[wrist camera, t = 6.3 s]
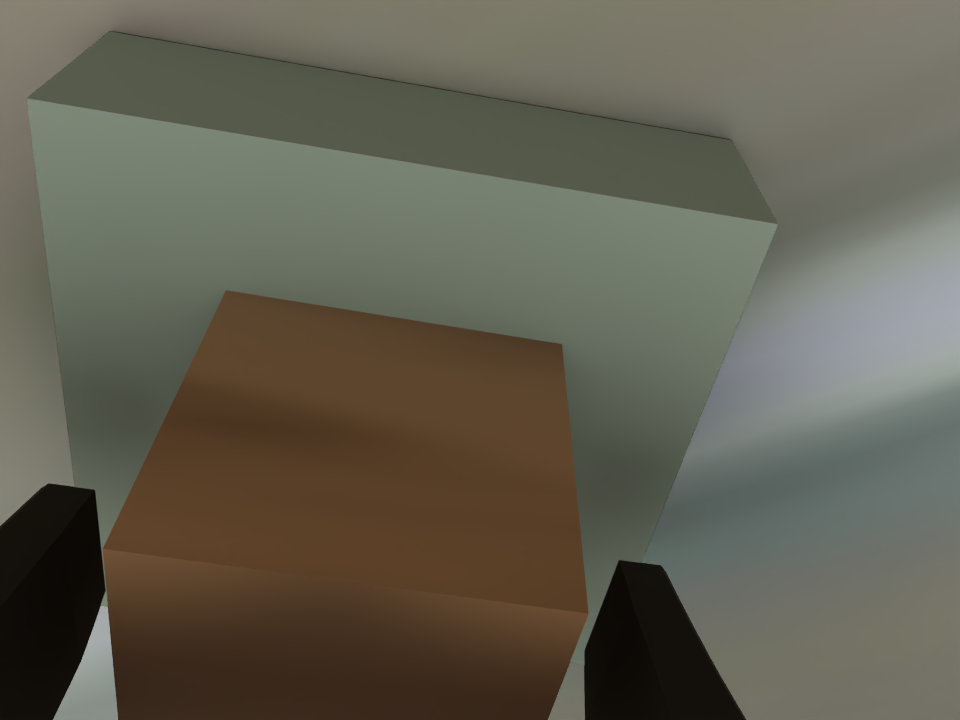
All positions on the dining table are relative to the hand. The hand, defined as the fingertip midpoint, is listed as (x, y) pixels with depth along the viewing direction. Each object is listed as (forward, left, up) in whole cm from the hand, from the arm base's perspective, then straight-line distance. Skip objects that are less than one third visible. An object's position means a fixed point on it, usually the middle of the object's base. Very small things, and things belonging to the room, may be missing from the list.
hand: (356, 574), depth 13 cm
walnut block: (0, 0, -3) cm, 3 cm away
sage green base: (0, 0, -6) cm, 6 cm away
